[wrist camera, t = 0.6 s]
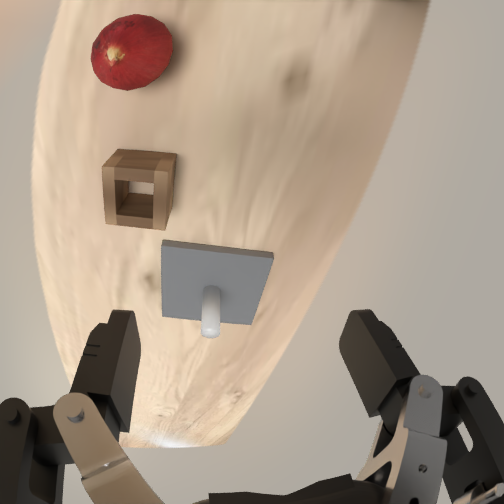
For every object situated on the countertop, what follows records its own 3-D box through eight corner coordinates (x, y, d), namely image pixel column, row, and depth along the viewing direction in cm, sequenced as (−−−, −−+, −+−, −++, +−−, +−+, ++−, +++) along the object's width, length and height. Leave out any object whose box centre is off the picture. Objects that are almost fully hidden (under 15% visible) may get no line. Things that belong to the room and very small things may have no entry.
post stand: (162, 239, 30) (150, 287, 25) (272, 252, 32) (281, 300, 27) (163, 310, 38) (156, 354, 32) (250, 319, 40) (254, 363, 34)
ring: (117, 149, 23) (101, 166, 20) (176, 153, 24) (168, 171, 21) (118, 201, 27) (105, 223, 24) (172, 206, 28) (165, 230, 25)
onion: (100, 63, 18) (51, 75, 12) (140, 8, 15) (101, -6, 9) (152, 94, 21) (120, 116, 14) (195, 40, 18) (178, 36, 12)
